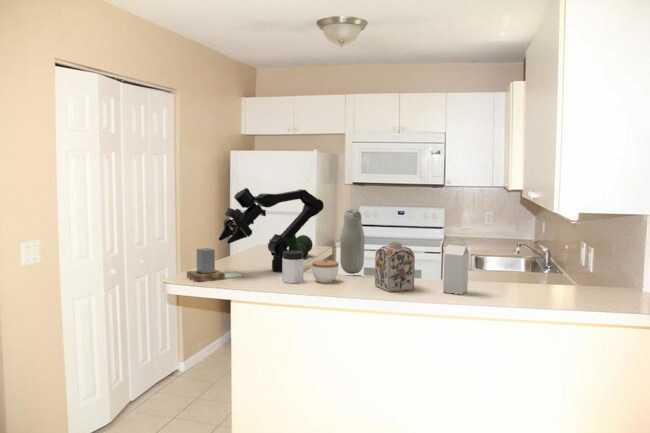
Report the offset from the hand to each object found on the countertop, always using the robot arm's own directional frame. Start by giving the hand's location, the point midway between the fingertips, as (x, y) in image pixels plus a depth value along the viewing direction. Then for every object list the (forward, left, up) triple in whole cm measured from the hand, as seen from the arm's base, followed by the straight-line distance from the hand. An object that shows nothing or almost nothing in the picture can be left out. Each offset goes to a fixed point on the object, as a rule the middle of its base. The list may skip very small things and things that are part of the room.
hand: (223, 241), depth 242 cm
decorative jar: (-64, +32, -15) cm, 73 cm away
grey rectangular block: (+7, +4, -15) cm, 17 cm away
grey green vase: (-55, +1, -15) cm, 57 cm away
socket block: (+7, +4, -15) cm, 17 cm away
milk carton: (-85, +42, -15) cm, 96 cm away
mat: (-3, 0, -15) cm, 15 cm away
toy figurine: (-39, -40, -15) cm, 57 cm away
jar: (-27, +14, -15) cm, 34 cm away
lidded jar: (-40, +16, -15) cm, 46 cm away
